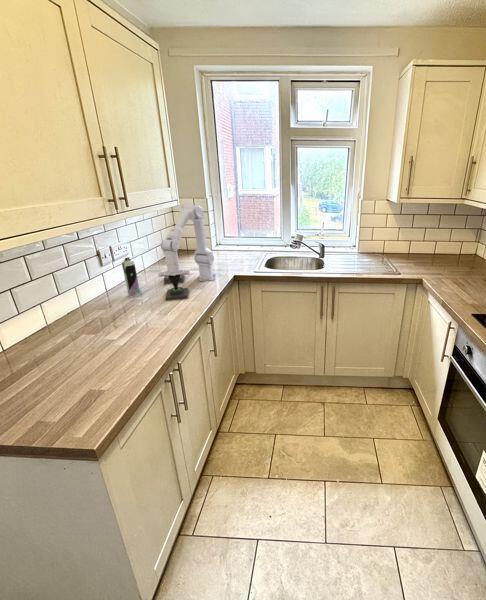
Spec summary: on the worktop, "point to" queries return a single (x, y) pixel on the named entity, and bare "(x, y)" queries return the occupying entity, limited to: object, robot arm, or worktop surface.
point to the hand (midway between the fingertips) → (176, 289)
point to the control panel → (167, 281)
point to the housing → (177, 294)
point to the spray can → (131, 278)
